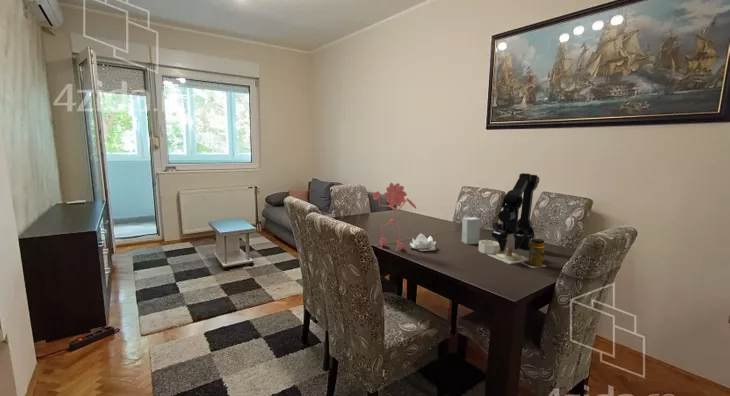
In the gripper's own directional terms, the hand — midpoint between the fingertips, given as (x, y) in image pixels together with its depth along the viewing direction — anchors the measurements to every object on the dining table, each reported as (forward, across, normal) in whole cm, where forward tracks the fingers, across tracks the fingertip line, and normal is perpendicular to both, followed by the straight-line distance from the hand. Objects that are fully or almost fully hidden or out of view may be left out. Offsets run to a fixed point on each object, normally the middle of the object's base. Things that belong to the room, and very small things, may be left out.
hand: (509, 250), depth 164 cm
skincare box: (+4, 0, -27) cm, 27 cm away
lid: (+3, 0, 0) cm, 3 cm away
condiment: (+4, -3, +12) cm, 13 cm away
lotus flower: (+4, +32, -28) cm, 42 cm away
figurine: (+4, +44, -35) cm, 57 cm away
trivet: (+4, 0, 0) cm, 4 cm away
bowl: (+4, +2, -11) cm, 12 cm away
